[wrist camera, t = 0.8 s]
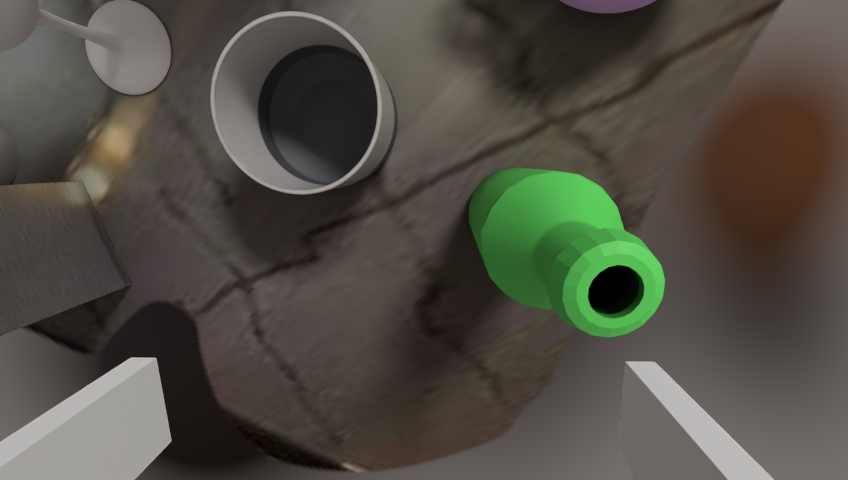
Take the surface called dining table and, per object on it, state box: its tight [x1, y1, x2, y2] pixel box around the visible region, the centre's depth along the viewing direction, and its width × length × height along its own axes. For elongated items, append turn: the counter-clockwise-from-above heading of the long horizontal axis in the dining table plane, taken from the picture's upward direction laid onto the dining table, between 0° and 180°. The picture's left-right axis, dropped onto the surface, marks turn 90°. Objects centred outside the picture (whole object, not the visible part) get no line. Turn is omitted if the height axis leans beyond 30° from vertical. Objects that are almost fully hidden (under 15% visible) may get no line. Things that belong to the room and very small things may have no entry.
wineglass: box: [0, 0, 171, 95], centre depth 28 cm, size 9×9×21 cm
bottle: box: [469, 168, 665, 337], centre depth 27 cm, size 9×9×25 cm
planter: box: [210, 11, 397, 195], centre depth 34 cm, size 13×13×10 cm
